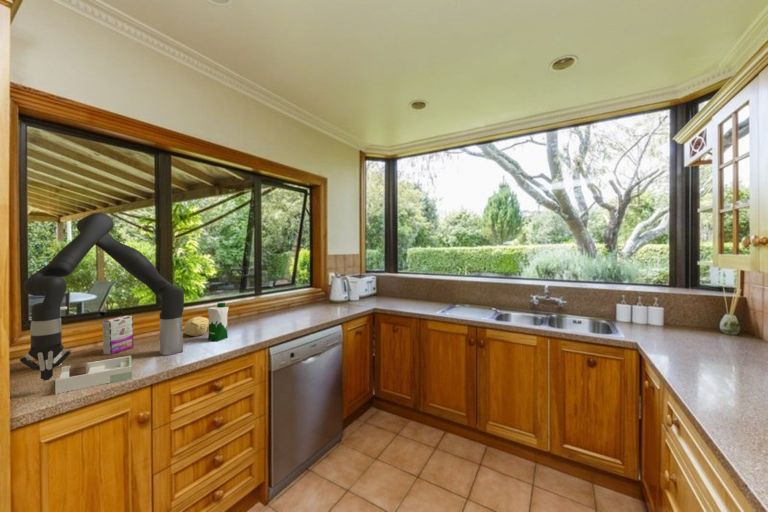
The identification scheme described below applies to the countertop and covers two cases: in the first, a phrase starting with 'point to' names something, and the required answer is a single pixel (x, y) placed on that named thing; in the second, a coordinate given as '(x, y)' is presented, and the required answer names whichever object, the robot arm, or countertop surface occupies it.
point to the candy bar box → (117, 334)
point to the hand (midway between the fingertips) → (46, 379)
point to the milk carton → (218, 322)
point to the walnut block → (78, 369)
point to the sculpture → (196, 326)
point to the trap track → (95, 374)
